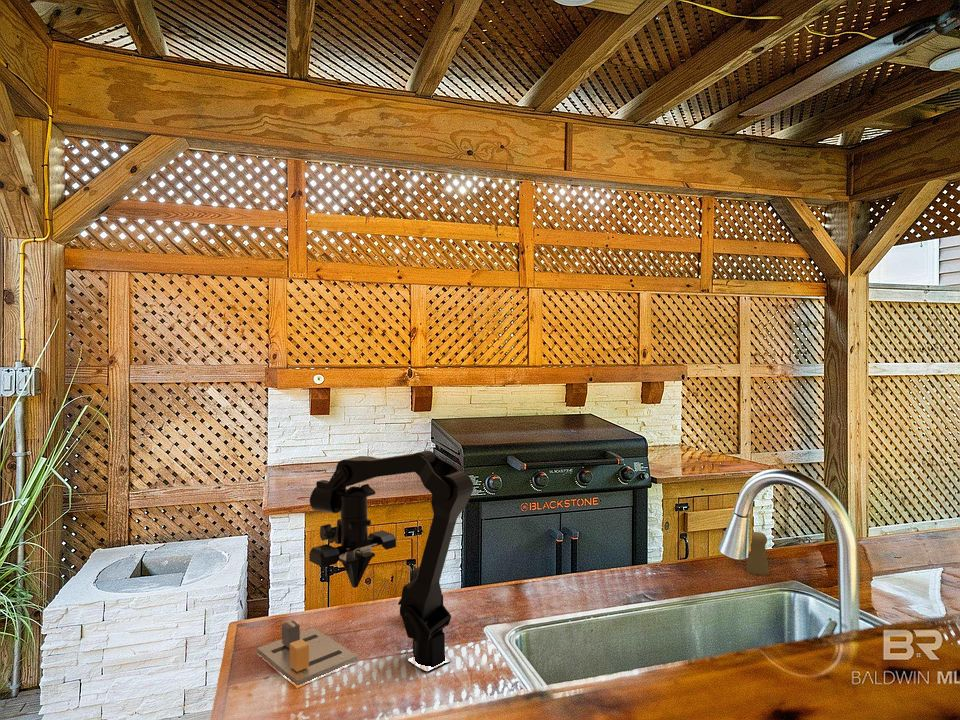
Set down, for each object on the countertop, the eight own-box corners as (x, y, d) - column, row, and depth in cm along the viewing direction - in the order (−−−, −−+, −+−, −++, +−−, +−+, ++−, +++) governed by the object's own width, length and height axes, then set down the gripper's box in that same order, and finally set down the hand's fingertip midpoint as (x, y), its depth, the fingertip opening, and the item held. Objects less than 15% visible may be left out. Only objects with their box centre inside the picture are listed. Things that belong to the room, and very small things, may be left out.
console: (357, 663, 116) (357, 655, 116) (297, 688, 107) (297, 680, 107) (314, 634, 129) (314, 627, 129) (257, 655, 120) (256, 647, 120)
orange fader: (309, 666, 111) (308, 644, 111) (296, 671, 109) (296, 648, 109) (301, 661, 113) (301, 639, 113) (289, 666, 112) (289, 643, 112)
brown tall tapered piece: (741, 569, 165) (740, 531, 166) (755, 566, 168) (755, 528, 168) (759, 576, 160) (758, 536, 160) (774, 572, 163) (773, 534, 163)
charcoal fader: (299, 644, 120) (299, 623, 121) (288, 648, 119) (288, 626, 119) (293, 639, 123) (293, 618, 123) (282, 643, 121) (281, 622, 121)
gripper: (369, 501, 137) (370, 567, 137) (296, 516, 124) (297, 589, 124) (397, 509, 129) (398, 579, 129) (322, 526, 116) (322, 603, 116)
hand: (354, 586), depth 125 cm, fingers closed
